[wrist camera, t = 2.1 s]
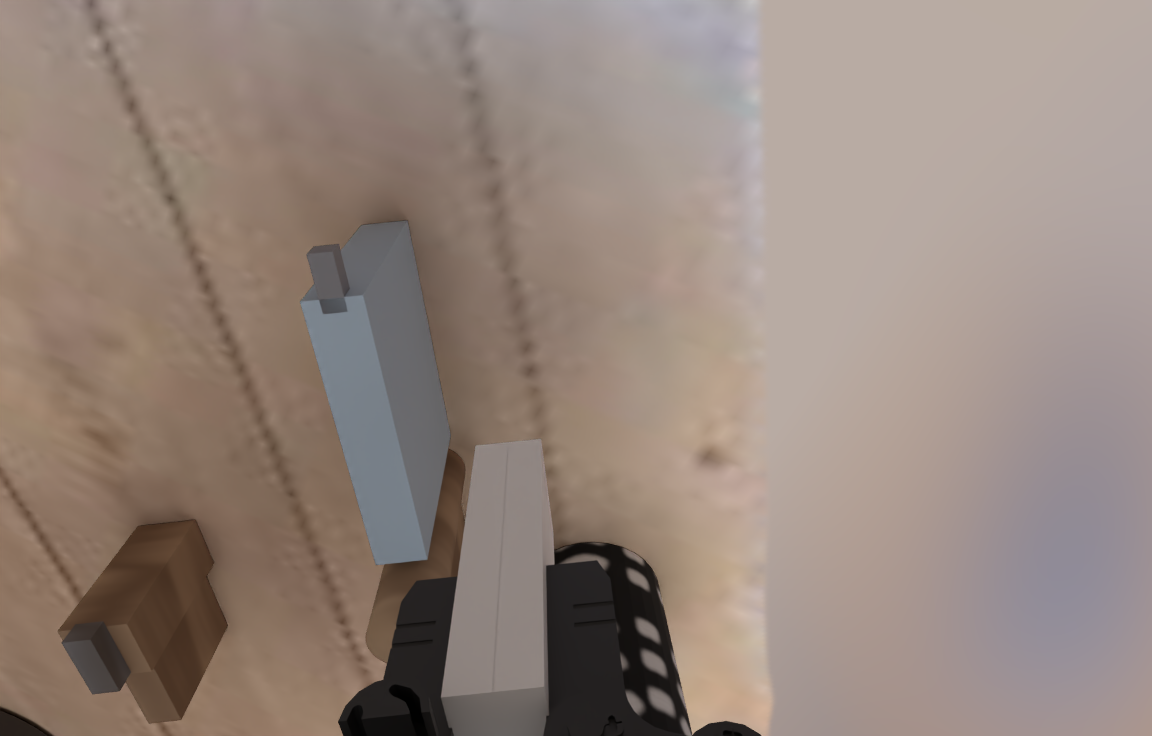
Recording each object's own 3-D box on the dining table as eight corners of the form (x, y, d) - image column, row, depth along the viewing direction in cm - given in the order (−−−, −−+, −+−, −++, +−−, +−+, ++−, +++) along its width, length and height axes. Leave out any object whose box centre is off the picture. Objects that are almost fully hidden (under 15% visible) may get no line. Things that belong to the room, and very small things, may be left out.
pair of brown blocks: (187, 630, 40) (76, 830, 30) (116, 481, 35) (-43, 661, 25) (490, 596, 40) (477, 784, 30) (460, 444, 35) (433, 608, 26)
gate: (450, 435, 35) (427, 559, 27) (411, 439, 35) (375, 565, 27) (400, 185, 29) (352, 249, 21) (353, 190, 29) (286, 256, 21)
